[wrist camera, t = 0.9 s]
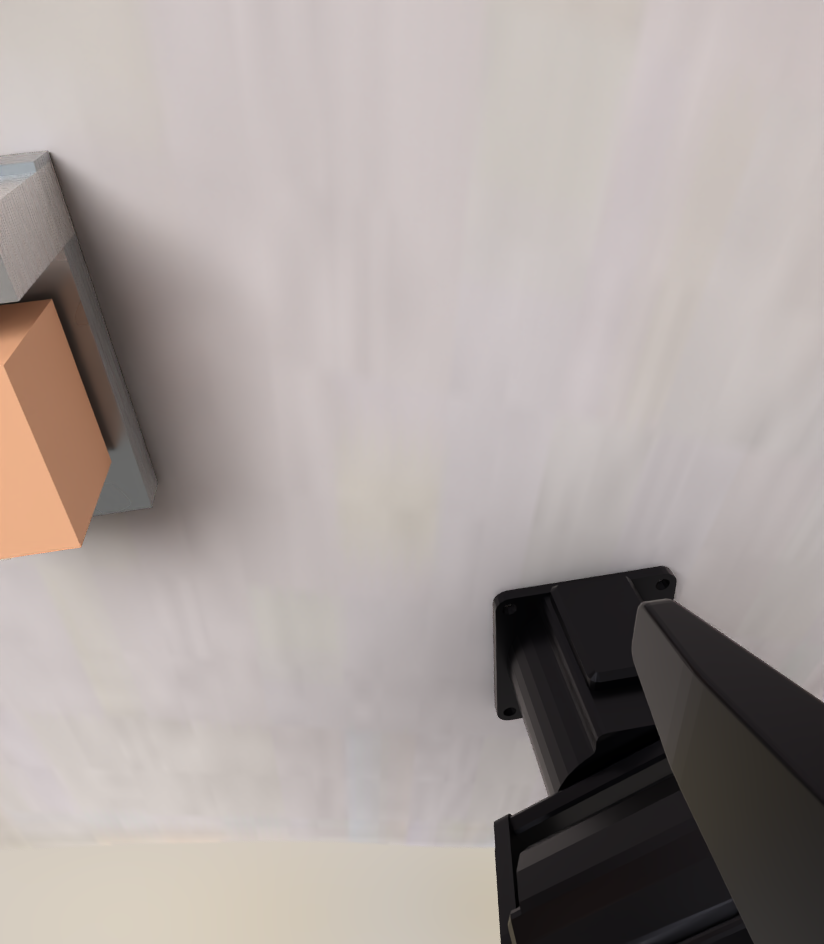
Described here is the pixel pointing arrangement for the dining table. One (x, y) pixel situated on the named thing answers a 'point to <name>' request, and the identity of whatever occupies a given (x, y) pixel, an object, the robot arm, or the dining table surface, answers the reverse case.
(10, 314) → the cardboard box
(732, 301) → the dining table surface
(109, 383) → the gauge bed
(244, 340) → the dining table surface
